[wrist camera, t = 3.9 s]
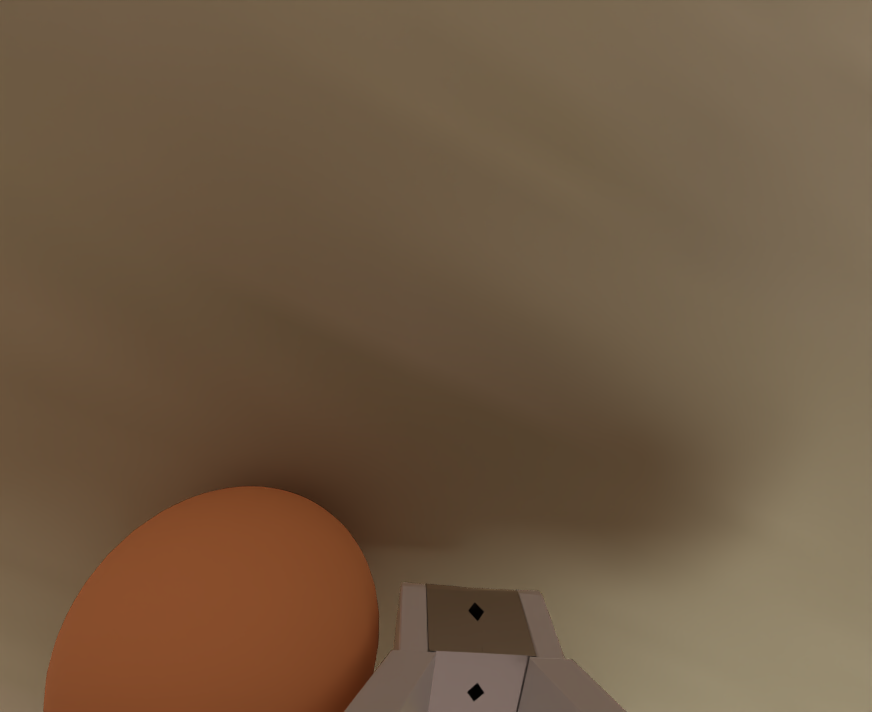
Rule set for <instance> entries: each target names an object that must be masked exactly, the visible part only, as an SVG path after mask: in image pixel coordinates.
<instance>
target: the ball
mask: <svg viewBox="0 0 872 712" xmlns="http://www.w3.org/2000/svg"><path fill="white" fill-rule="evenodd" d="M378 639H379V611H378V603H377V597H376V590H375V585H374V582H373V579H372V576H371V572H370V569H369V567H368V564H367V561H366V559H365V557H364V555H363V553H362V551H361V549H360V548H359V546H358V544H357V543H356V541H355V540H354V538H353V537H352V535H351V534H350V532H349V531H348V530H347V529H346V528H345V527H344V526H343V524H342V523H341V522H340V521H339V520H338V519H336V518H335V517H334V516H333V515H332V514H330V513H329V512H328V511H327V510H325V509H324V508H322V507H321V506H319V505H318V504H316V503H315V502H313V501H311V500H309V499H307V498H305V497H303V496H300V495H297V494H295V493H292V492H288V491H284V490H280V489H275V488H268V487H258V486H241V487H231V488H225V489H220V490H216V491H211V492H207V493H203V494H200V495H197V496H195V497H192V498H189V499H187V500H184V501H182V502H180V503H178V504H176V505H174V506H172V507H170V508H168V509H166V510H164V511H162V512H160V513H159V514H157V515H156V516H154V517H153V518H151V519H150V520H148V521H147V522H145V523H144V524H143V525H141V526H140V527H138V528H137V529H135V530H134V531H133V532H132V533H131V534H130V535H128V536H127V537H126V538H125V539H124V540H123V541H122V542H121V543H120V544H119V545H118V546H117V547H116V548H115V549H113V550H112V551H111V552H110V553H109V554H108V555H107V556H106V558H105V559H104V560H103V561H102V562H101V564H100V565H99V566H98V567H97V569H96V570H95V571H94V572H93V574H92V575H91V576H90V578H89V579H88V580H87V581H86V583H85V584H84V586H83V587H82V589H81V591H80V592H79V594H78V596H77V597H76V599H75V600H74V602H73V604H72V606H71V608H70V610H69V612H68V614H67V616H66V618H65V620H64V622H63V625H62V627H61V629H60V631H59V634H58V636H57V639H56V642H55V645H54V649H53V652H52V656H51V660H50V663H49V667H48V671H47V677H46V686H45V697H44V709H43V711H44V712H344V711H345V710H346V708H347V707H348V706H349V704H350V703H351V702H352V700H353V699H354V698H355V697H356V695H357V694H358V693H359V691H360V690H361V689H362V687H363V686H364V685H365V684H366V682H367V681H368V680H369V678H370V677H371V676H372V674H373V671H374V666H375V660H376V654H377V649H378Z"/></svg>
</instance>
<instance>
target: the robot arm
mask: <svg viewBox="0 0 872 712" xmlns="http://www.w3.org/2000/svg"><path fill="white" fill-rule="evenodd" d="M344 712H626V711H625V710H624V709H623V708H622V707H621V706H620V705H619V704H618V703H617V702H616V701H615V700H614V699H613V698H612V697H611V696H610V695H609V694H608V693H607V692H606V691H605V690H604V689H603V688H602V687H601V686H599V685H598V684H597V683H596V682H595V681H594V680H593V679H592V678H591V677H590V676H589V675H588V674H587V673H586V672H585V671H584V670H583V669H582V668H581V667H580V666H579V665H578V664H577V663H576V662H575V661H574V660H573V659H565V657H564V654H563V652H562V649H561V646H560V643H559V640H558V638H557V635H556V632H555V629H554V626H553V624H552V621H551V618H550V615H549V612H548V610H547V607H546V604H545V601H544V598H543V596H542V594H541V593H540V591H538V590H509V589H490V588H471V587H458V586H447V585H435V584H418V583H407V582H402V583H401V587H400V595H399V604H398V612H397V620H396V629H395V640H394V650H391V651H390V652H389V654H388V655H387V656H386V658H385V659H384V660H383V662H382V663H381V664H380V665H379V667H378V668H377V669H376V671H375V672H374V673H373V674H372V676H371V677H370V678H369V680H368V681H367V682H366V684H365V685H364V686H363V687H362V689H361V690H360V691H359V693H358V694H357V695H356V697H355V698H354V699H353V700H352V702H351V703H350V704H349V706H348V707H347V708H346V710H345V711H344Z"/></svg>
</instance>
